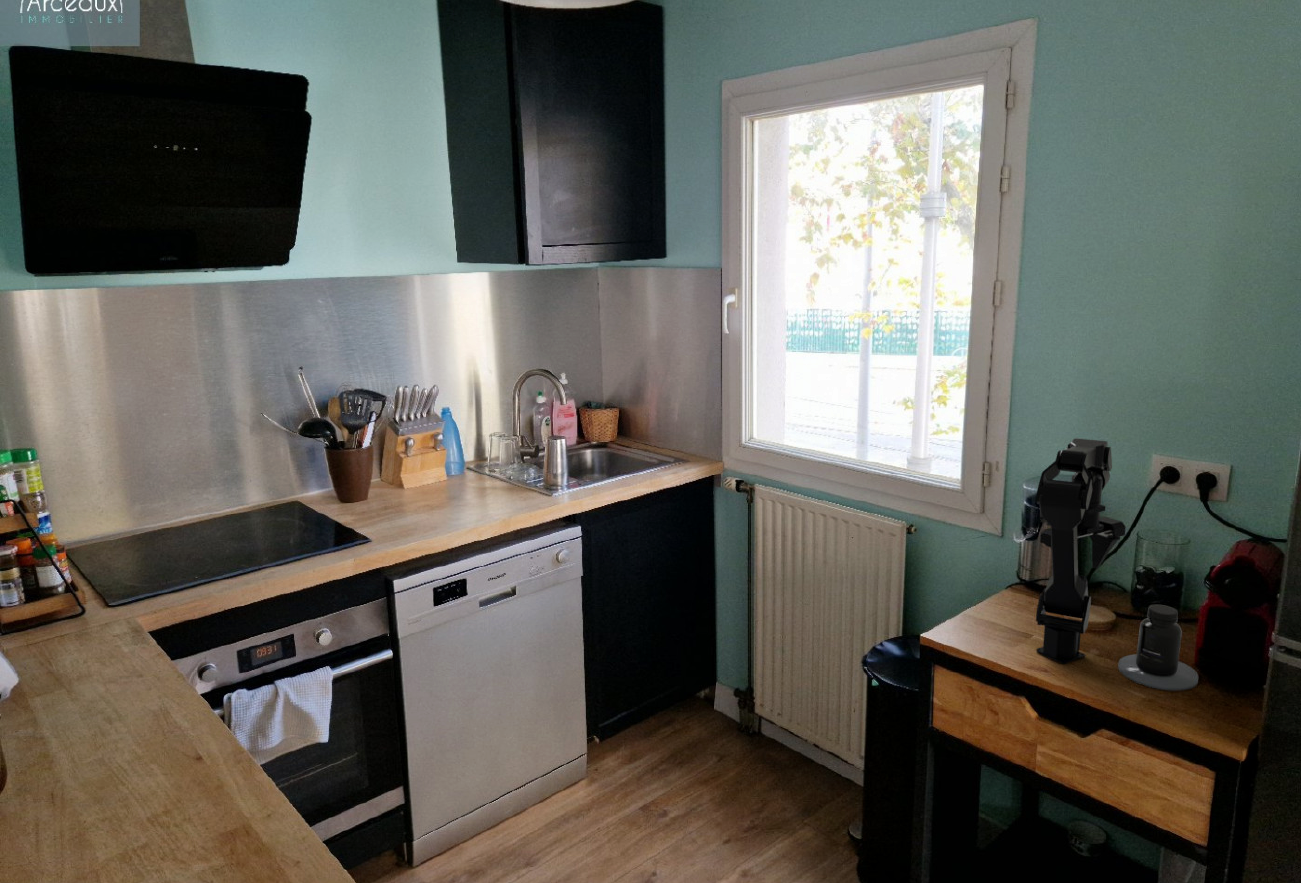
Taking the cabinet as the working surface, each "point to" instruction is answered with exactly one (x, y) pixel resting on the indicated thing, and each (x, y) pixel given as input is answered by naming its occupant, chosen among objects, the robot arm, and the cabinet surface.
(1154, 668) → the supplement bottle
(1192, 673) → the disc
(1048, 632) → the robot arm
